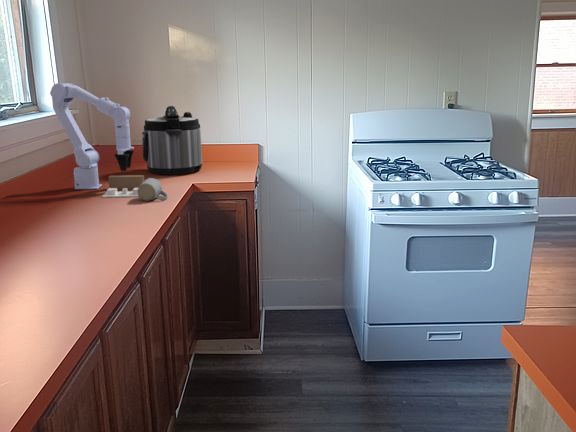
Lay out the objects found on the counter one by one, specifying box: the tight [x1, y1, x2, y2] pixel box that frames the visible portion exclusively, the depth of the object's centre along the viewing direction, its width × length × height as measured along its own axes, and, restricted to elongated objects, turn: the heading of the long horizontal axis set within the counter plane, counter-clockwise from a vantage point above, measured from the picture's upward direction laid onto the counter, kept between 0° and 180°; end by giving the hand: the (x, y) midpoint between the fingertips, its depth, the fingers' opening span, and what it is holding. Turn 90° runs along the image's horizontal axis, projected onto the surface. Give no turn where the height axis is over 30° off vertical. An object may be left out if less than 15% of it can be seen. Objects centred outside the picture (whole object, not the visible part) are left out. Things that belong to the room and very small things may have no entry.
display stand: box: [101, 187, 140, 199], centre depth 217 cm, size 16×8×2 cm, turn 94°
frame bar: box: [107, 174, 145, 190], centre depth 229 cm, size 14×3×6 cm, turn 93°
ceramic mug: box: [138, 177, 169, 202], centre depth 209 cm, size 11×8×8 cm
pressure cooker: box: [141, 105, 203, 176], centre depth 266 cm, size 30×28×32 cm
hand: (125, 169), depth 228 cm, fingers open, 7 cm apart
